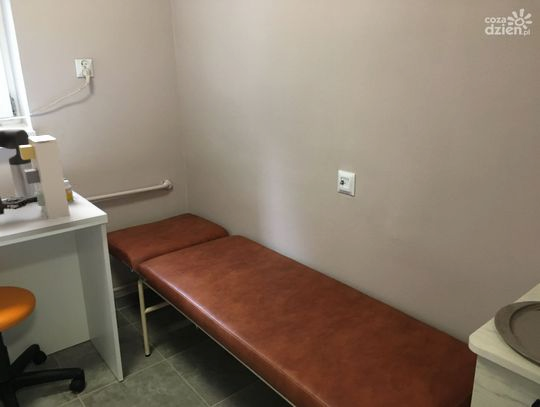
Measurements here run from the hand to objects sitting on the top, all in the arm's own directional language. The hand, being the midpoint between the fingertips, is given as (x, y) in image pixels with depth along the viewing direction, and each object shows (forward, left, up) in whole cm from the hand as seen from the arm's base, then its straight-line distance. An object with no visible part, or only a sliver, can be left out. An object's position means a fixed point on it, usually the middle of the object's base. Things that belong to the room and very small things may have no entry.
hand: (36, 199), depth 184 cm
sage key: (0, +3, -3) cm, 4 cm away
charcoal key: (0, +1, +8) cm, 8 cm away
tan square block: (0, +1, +18) cm, 18 cm away
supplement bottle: (-15, +14, -7) cm, 22 cm away
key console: (0, +6, -7) cm, 9 cm away
